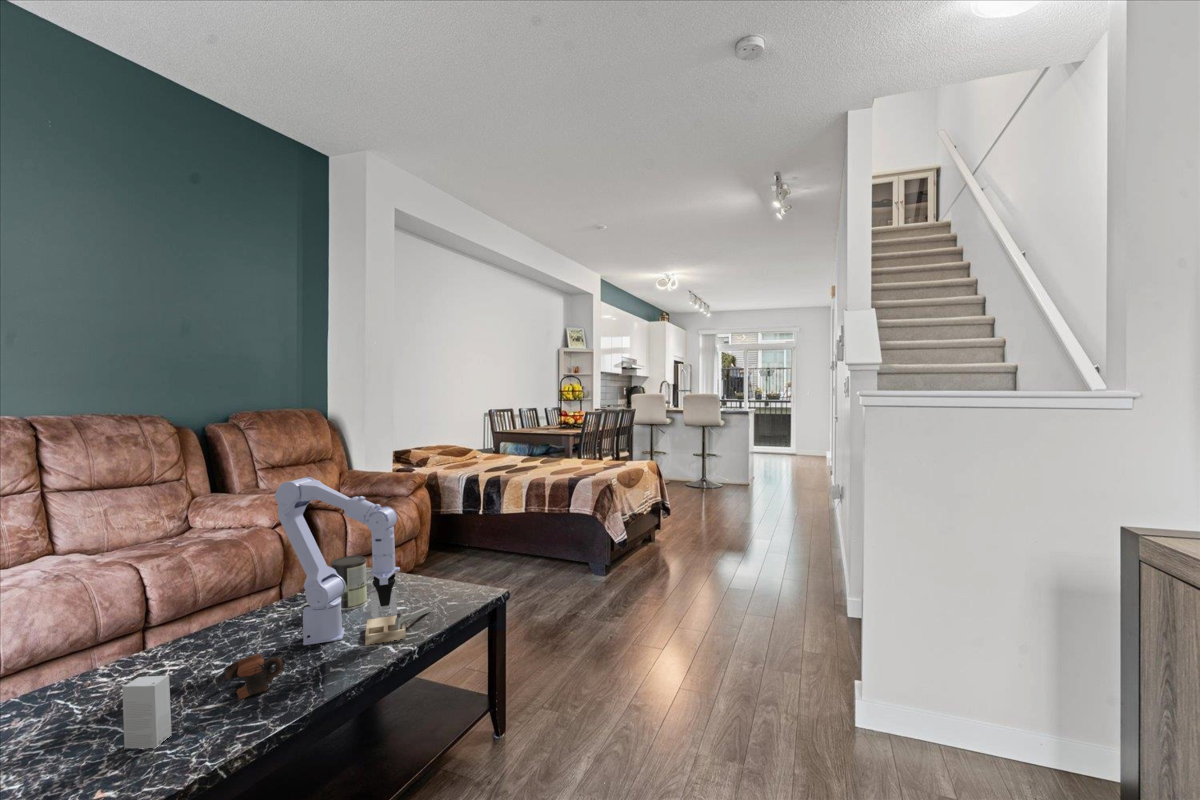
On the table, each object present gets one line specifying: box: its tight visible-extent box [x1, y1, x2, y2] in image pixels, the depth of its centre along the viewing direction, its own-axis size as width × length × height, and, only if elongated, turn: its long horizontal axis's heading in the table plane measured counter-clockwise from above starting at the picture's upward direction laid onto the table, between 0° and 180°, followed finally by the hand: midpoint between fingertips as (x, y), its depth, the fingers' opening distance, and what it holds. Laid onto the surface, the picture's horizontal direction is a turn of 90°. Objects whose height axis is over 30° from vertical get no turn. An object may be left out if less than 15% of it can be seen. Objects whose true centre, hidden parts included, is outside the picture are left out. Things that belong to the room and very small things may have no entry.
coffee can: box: [330, 555, 368, 611], centre depth 182 cm, size 10×10×14 cm
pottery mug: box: [222, 653, 285, 700], centre depth 131 cm, size 12×10×8 cm
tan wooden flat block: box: [364, 613, 407, 646], centre depth 159 cm, size 10×12×2 cm
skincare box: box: [121, 675, 172, 749], centre depth 110 cm, size 6×4×12 cm
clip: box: [369, 588, 398, 619], centre depth 156 cm, size 6×2×6 cm, turn 109°
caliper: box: [395, 606, 433, 630], centre depth 165 cm, size 20×1×6 cm, turn 172°
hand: (385, 603), depth 156 cm, fingers closed on clip, 2 cm apart
